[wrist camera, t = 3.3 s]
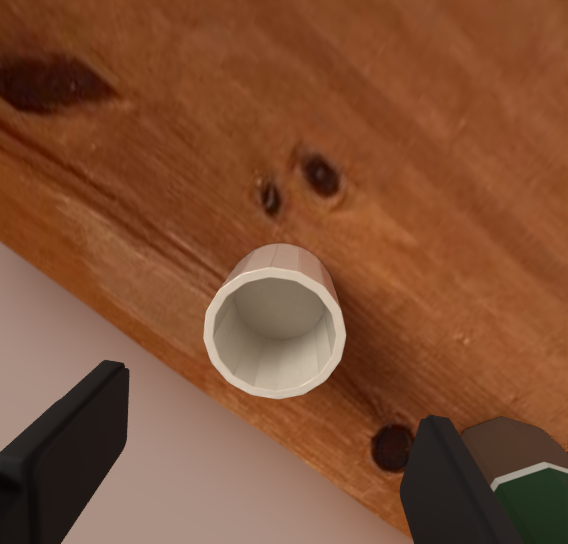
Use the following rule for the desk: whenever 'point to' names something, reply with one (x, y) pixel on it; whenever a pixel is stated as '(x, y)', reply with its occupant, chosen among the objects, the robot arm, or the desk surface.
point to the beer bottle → (524, 476)
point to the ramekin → (276, 323)
